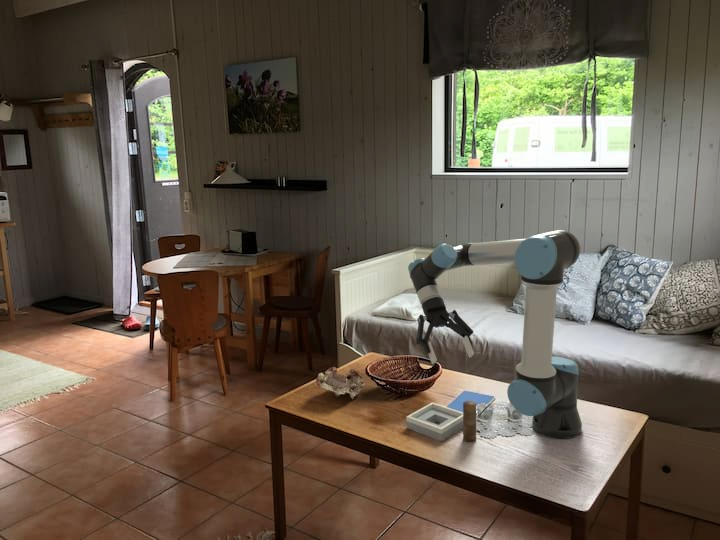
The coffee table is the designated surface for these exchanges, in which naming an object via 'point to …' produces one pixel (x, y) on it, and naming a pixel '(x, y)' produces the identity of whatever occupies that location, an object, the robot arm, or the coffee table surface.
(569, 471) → the coffee table surface
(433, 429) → the tray
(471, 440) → the peg
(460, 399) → the blue rectangular panel
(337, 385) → the mineral formation
